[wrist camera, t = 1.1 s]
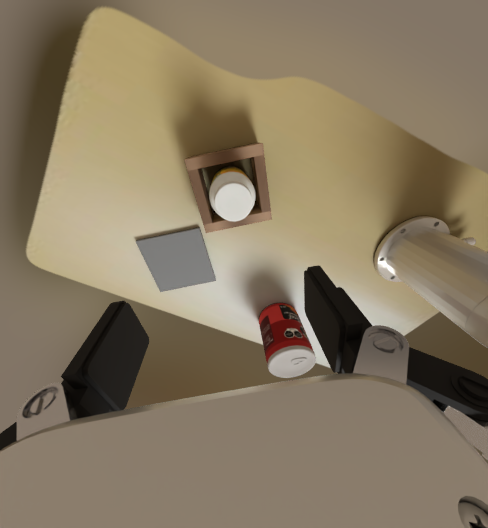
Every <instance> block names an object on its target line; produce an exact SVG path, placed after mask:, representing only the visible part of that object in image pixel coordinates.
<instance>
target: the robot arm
mask: <svg viewBox="0 0 488 528" xmlns="http://www.w3.org/2000/svg"><path fill="white" fill-rule="evenodd" d="M475 243H476V240H475V239H474V238H473V237H469V238H464V239H460V238H457V237H455V236H452V235H450V231H449V228H448V226H447V225H446V223H444V222H443V221H441V220H439V219H437V218H434V217H429V216H421V217H416V218H412V219H410V220H407V221H405V222H403V223H401V224H399V225H398V226H397V227H395V228H394V229H392V230H391V231H390V232H389V233H388V234H387V235H386V236H385V238H384V239H383V240H382V241H381V243H380V245H379V246H378V248H377V251H376V253H375V258H374V265H375V269H376V270H377V272H378V273H379V274H380V275H381V276H382V277H383V278H385V279H386V280H389V281H394V282H402V281H403V282H404V283H405V284H406V285H408V286H409V287H410V288H411V289H413V290H414V291H415V292H417V293H418V294H419V295H420V296H422V297H423V298H424V299H425V300H427V301H428V302H429V303H430V304H432V305H433V306H434V307H435V308H437V309H438V310H439V311H440V312H442V313H443V314H444V315H445V316H447V317H448V318H449V319H450V320H452V321H453V322H454V323H456V324H457V325H458V326H459V327H461V328H462V329H463V330H464V331H466V332H467V333H468V334H469V335H470V336H472V337H473V338H474V339H476V340H477V341H478V342H480V343H481V344H483V345H484V346H486V347H487V348H488V252H487V251H484V250H482V249H480V248H477V247H475V246H473V245H474V244H475ZM304 294H305V313H306V316H307V318H308V320H309V322H310V324H311V326H312V328H313V331H314V333H315V335H316V337H317V339H318V341H319V343H320V345H321V347H322V350H323V352H324V354H325V356H326V358H327V360H328V362H329V364H330V366H331V369H332V370H333V372H337V373H338V374H333V375H322V376H316V377H309V378H303V379H296V380H290V381H284V382H278V383H272V384H266V385H260V386H255V387H249V388H243V389H237V390H232V391H226V392H220V393H214V394H208V395H204V396H197V397H192V398H186V399H181V400H175V401H169V402H164V403H158V404H153V405H147V406H142V407H137V408H131V409H125V410H124V408H125V407H126V405H127V402H128V400H129V397H130V394H131V391H132V388H133V386H134V383H135V380H136V377H137V374H138V372H139V369H140V366H141V363H142V361H143V358H144V355H145V352H146V349H147V347H148V344H149V337H148V335H147V333H146V332H145V330H144V328H143V327H142V325H141V323H140V321H139V320H138V318H137V316H136V315H135V313H134V311H133V309H132V308H131V306H130V305H129V304H128V303H126V302H125V301H119V302H113V303H111V304H110V305H109V307H108V308H107V309H106V311H105V313H104V314H103V315H102V317H101V318H100V320H99V322H98V323H97V324H96V326H95V327H94V329H93V330H92V331H91V333H90V335H89V336H88V338H87V339H86V340H85V342H84V343H83V345H82V346H81V348H80V349H79V351H78V352H77V354H76V355H75V357H74V358H73V360H72V361H71V362H70V364H69V365H68V367H67V368H66V370H65V372H64V373H63V374H62V376H61V377H62V378H63V379H64V380H63V382H62V383H61V384H60V383H52V384H49V385H46V386H44V387H42V388H41V389H39V390H38V391H36V392H35V393H34V394H32V395H31V396H30V397H29V398H28V399H27V400H26V401H25V403H24V404H23V405H22V406H21V408H20V410H19V412H18V415H17V422H15V423H14V424H13V425H11V426H10V427H9V428H7V429H6V430H5V431H3V432H2V433H1V434H0V528H488V464H487V463H486V461H485V460H484V459H483V458H482V456H483V457H484V458H486V459H487V460H488V379H486V378H485V377H483V376H481V375H479V374H477V373H475V372H473V371H470V370H467V369H465V368H462V367H460V366H457V365H454V364H452V363H449V362H447V361H444V360H441V359H439V358H436V357H434V356H431V355H428V354H425V353H423V352H420V351H418V350H415V349H413V348H410V347H409V345H408V342H407V340H406V338H405V337H404V336H403V335H402V334H401V333H399V332H398V331H396V330H394V329H392V328H389V327H386V326H372V325H371V323H370V322H369V321H368V320H367V318H366V317H365V316H364V315H363V313H362V312H361V311H360V310H359V308H358V307H357V306H356V305H355V303H354V302H353V301H352V300H351V298H350V297H349V296H348V295H347V293H346V292H345V291H344V290H343V289H342V288H340V287H339V288H336V286H335V285H334V284H333V282H332V281H331V280H330V279H329V277H328V276H327V275H326V273H325V272H324V271H323V269H322V268H321V267H320V266H313V267H308V269H307V270H306V271H305V272H304ZM471 444H472V445H474V446H475V447H476V448H477V449H479V450H480V451H482V452H483V455H482V456H481V455H480V454H479V453H478V452H477V450H476V449H475V448H474V447H473V446H472V445H471ZM458 503H459V504H458Z"/></svg>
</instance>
